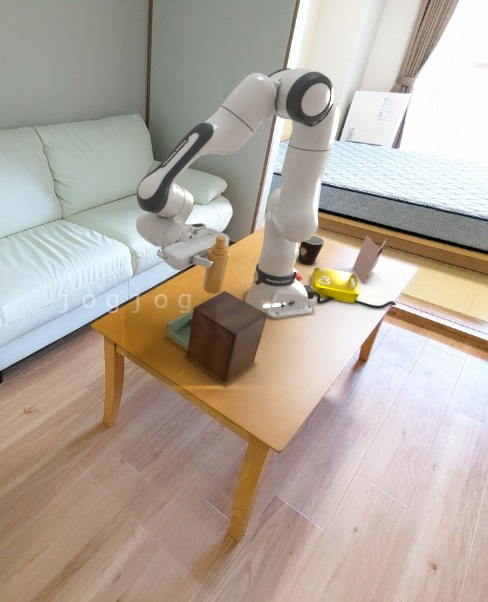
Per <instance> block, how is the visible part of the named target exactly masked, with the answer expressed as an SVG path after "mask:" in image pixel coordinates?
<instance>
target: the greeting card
mask: <svg viewBox="0 0 488 602" xmlns="http://www.w3.org/2000/svg"><path fill="white" fill-rule="evenodd" d="M386 241H387V239H385V240H384V242H383V243H382V244H381V246H380V247H379V246H378V245H377V244H376V243H375V242H374V241H373V240H372V239H371V238H370V237H369V236H368V235H365V238H364V240H363V242H362V245H361V247H360V249H359V252H358V254H357V257H356V259H355V262H354V264H353V266H352V270H353V272H354V274H355V275H356V276H357V277H358V278H359V279H360V281H361V282H362V283H363V284H365V283H366V282H367V280H368V279H369V277H370V275H371V274H372V272H373V270H374V268H375V267H376V265H377V263H378V262H379V261H378V260H379V258H380V255H381V253H382V252H383V250H384V248H385V245H386Z"/></svg>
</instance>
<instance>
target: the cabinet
mask: <svg viewBox="0 0 488 602" xmlns="http://www.w3.org/2000/svg"><path fill="white" fill-rule="evenodd" d="M192 309H193V310H192V311H193V316H192V323H191V330H190V338H189V345H188V351H187V352H186V356H188V357H189V358H190V359H192V360H193V361H194V362H196V364H197V363H198V365H200V366H201V367H203V368H204V369H205V370H207V371H208V372H210V374H212V375H213V376H214V377H216V378H217V379H218V380H220V381H221V382H223V383H224V384H223V386H224V387H225V386H226V383H227V382H229V381H230V380H231V379H232V378H234V377H236V376H237V375H238V374H239V373H241V372H242V371H243V370H245V369H246V368H247V367H249V366H250V365H252V364H253V363H254V362H255V359H256V355H257V353H258V348H259V346H260V345H259V344H260V341H261V338H262V334H263V331H264V329H265V325H266V321H267V317H268V316H267V314H266V313H264V312H262V311H261V310H259V309H257V308H255V307H253V306H252V305H250V304H248V303H246V301H245V300H242V299H241V298H239V297H237V296H236V295H234V294H232V293H229V292H228V291H226V290H222V291H221V292H220V293H217V294H216V295H214V296H212V297H211V298H209V299H207V300H204V302H201V303H199V304H198V305H196V306H195V307H193V308H192Z"/></svg>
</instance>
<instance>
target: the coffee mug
mask: <svg viewBox="0 0 488 602" xmlns="http://www.w3.org/2000/svg"><path fill="white" fill-rule="evenodd" d="M324 244H325V239H323V238H322V237H320V236H317V235H313V236H312V237H311V238H310V239H308V240H306V241H304V242H300V243H299V252H298V256H297V261H298V262H299V264H302V265H306V266H312V265H314V264H315V263H316V260H317V258H318V256H319V254H320V252H321V250H322V248H323V246H324Z"/></svg>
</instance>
